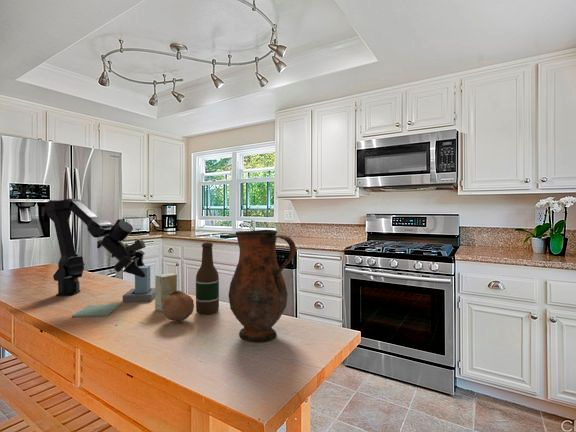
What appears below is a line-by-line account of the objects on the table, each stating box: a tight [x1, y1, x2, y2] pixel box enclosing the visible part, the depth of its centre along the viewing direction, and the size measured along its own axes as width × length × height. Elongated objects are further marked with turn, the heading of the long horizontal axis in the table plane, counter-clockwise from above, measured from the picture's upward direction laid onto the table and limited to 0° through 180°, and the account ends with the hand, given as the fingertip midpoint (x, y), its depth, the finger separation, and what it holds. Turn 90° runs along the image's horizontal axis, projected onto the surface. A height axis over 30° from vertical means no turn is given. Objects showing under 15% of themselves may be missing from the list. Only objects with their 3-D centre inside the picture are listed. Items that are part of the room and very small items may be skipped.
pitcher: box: [228, 229, 297, 343], centre depth 89 cm, size 17×21×30 cm
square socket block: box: [122, 287, 155, 303], centre depth 127 cm, size 10×10×2 cm
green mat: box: [71, 303, 121, 318], centre depth 111 cm, size 11×11×1 cm
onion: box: [162, 290, 195, 323], centre depth 101 cm, size 10×9×10 cm
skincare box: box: [154, 272, 178, 312], centre depth 114 cm, size 6×4×12 cm
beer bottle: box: [195, 242, 220, 316], centre depth 111 cm, size 8×8×24 cm
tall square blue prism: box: [134, 265, 151, 294], centre depth 127 cm, size 4×4×10 cm
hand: (146, 275), depth 127 cm, fingers closed on tall square blue prism, 4 cm apart
